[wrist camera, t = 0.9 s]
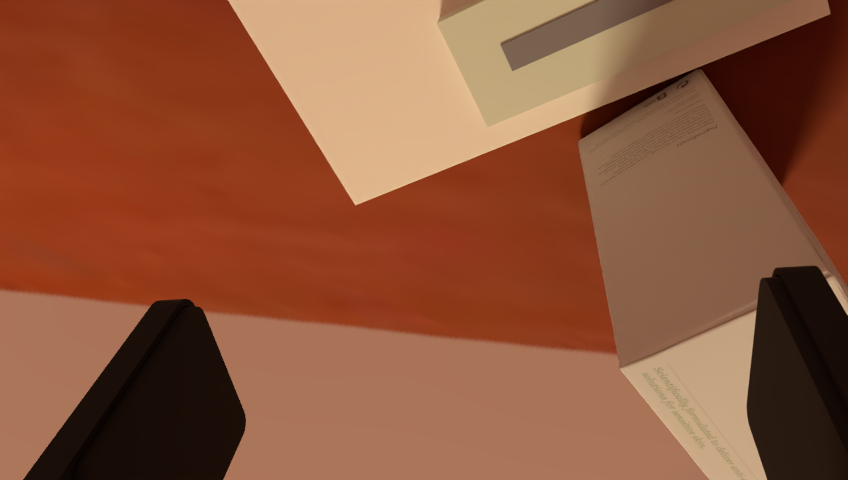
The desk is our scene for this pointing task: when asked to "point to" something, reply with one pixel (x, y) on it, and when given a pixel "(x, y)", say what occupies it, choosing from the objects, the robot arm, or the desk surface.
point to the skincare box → (692, 261)
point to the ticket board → (481, 68)
